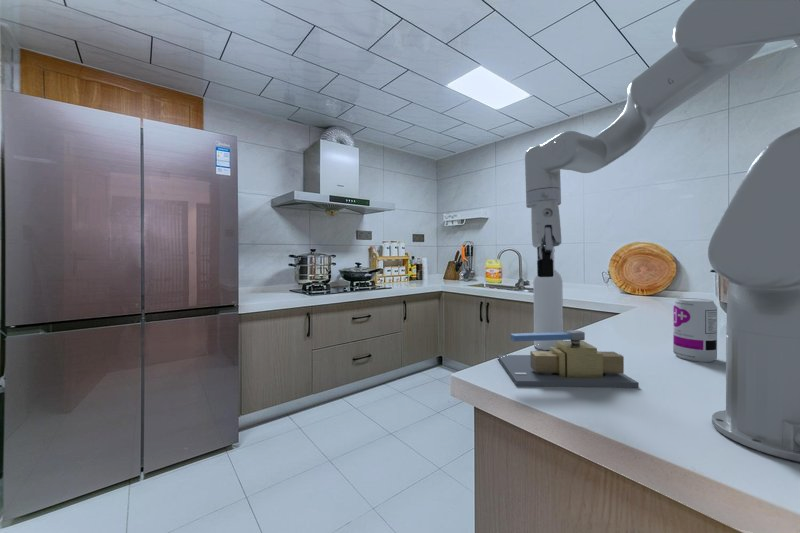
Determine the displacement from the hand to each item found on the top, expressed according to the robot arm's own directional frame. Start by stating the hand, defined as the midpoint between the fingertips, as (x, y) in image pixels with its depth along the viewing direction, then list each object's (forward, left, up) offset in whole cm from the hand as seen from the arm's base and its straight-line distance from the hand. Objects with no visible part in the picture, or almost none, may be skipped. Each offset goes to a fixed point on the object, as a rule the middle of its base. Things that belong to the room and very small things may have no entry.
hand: (545, 276), depth 76 cm
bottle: (+18, -7, -22) cm, 30 cm away
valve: (-6, -4, -22) cm, 23 cm away
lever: (-6, +2, -13) cm, 15 cm away
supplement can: (+9, -40, -22) cm, 47 cm away
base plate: (-2, -2, -22) cm, 22 cm away
